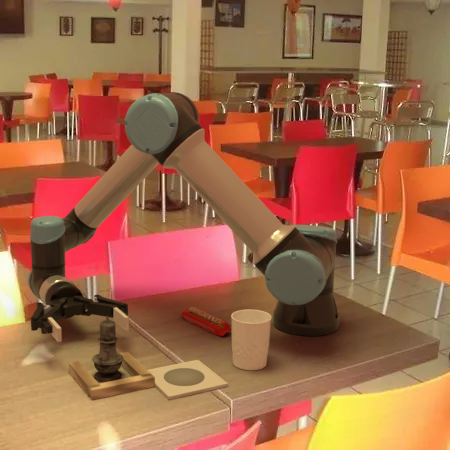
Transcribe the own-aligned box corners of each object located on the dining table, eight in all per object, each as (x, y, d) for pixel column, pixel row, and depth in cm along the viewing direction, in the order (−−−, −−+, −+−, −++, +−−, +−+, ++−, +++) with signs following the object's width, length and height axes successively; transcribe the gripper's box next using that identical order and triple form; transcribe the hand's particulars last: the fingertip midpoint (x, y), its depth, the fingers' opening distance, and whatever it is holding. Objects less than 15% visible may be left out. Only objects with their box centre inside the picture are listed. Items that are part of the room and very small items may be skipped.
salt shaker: (117, 384, 132) (117, 322, 130) (87, 380, 133) (86, 319, 131) (128, 371, 138) (128, 312, 135) (99, 367, 139) (98, 309, 136)
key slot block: (127, 360, 143) (127, 351, 142) (154, 386, 132) (154, 377, 131) (69, 371, 137) (68, 362, 137) (92, 399, 126) (91, 390, 126)
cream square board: (197, 362, 143) (197, 359, 143) (227, 386, 133) (227, 382, 132) (141, 373, 137) (141, 370, 137) (168, 399, 127) (168, 396, 127)
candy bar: (178, 318, 167) (178, 306, 167) (190, 315, 170) (191, 303, 169) (220, 340, 155) (221, 327, 155) (233, 336, 158) (234, 323, 157)
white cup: (257, 375, 138) (259, 326, 135) (222, 365, 142) (223, 317, 139) (276, 361, 144) (278, 314, 142) (242, 352, 148) (244, 306, 146)
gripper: (115, 305, 164) (153, 337, 146) (4, 322, 152) (30, 358, 134) (115, 273, 163) (153, 302, 145) (2, 288, 151) (28, 320, 133)
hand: (94, 329), depth 139 cm, fingers open, 13 cm apart
